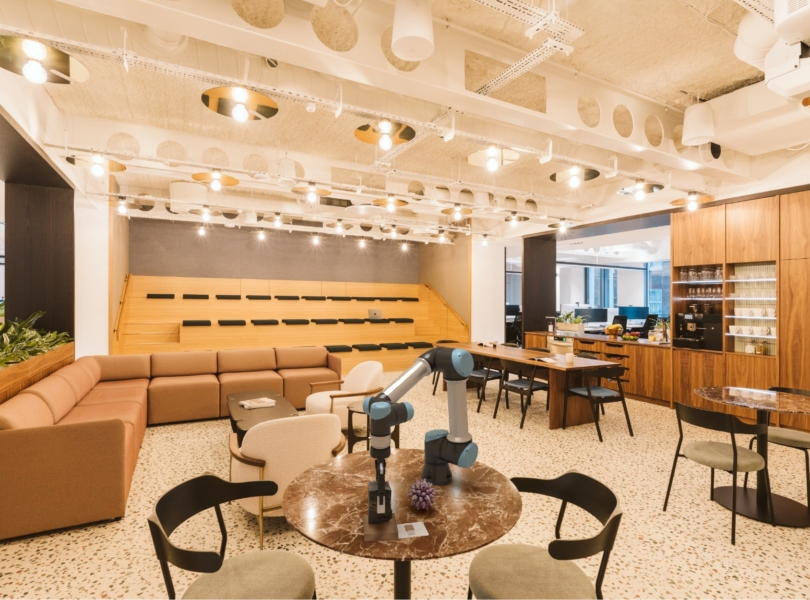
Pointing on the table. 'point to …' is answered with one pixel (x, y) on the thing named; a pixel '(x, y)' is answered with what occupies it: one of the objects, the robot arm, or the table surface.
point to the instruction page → (411, 530)
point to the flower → (421, 494)
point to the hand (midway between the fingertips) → (380, 506)
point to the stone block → (372, 503)
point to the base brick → (380, 530)
